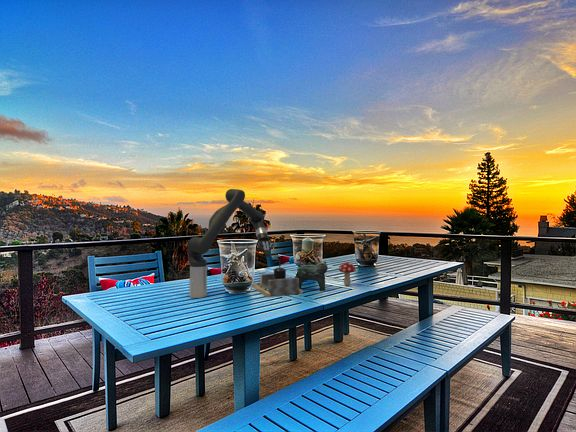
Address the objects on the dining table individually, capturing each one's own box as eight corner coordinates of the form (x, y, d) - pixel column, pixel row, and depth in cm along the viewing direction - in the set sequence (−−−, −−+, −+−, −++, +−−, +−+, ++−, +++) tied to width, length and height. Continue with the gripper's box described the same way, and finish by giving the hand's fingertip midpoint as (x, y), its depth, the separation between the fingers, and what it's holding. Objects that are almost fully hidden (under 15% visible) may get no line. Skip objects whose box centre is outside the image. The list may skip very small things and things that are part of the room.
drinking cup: (281, 294, 198) (281, 260, 197) (270, 292, 202) (270, 259, 201) (288, 291, 204) (288, 258, 204) (277, 290, 208) (278, 257, 208)
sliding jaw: (261, 289, 209) (261, 274, 209) (260, 288, 212) (260, 273, 212) (285, 287, 215) (285, 272, 215) (283, 286, 218) (284, 272, 218)
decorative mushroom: (359, 286, 220) (359, 263, 220) (347, 288, 213) (347, 264, 213) (347, 283, 229) (347, 260, 229) (335, 285, 223) (335, 262, 222)
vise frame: (266, 297, 191) (266, 281, 191) (251, 286, 220) (251, 272, 220) (302, 293, 200) (302, 278, 199) (282, 283, 228) (282, 269, 228)
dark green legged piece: (327, 289, 211) (327, 257, 211) (327, 291, 205) (327, 258, 204) (295, 288, 213) (295, 256, 213) (294, 291, 207) (294, 258, 206)
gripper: (254, 232, 228) (259, 252, 217) (272, 231, 233) (279, 251, 222) (251, 239, 233) (257, 259, 222) (269, 239, 238) (276, 258, 227)
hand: (268, 255), depth 222 cm, fingers closed
